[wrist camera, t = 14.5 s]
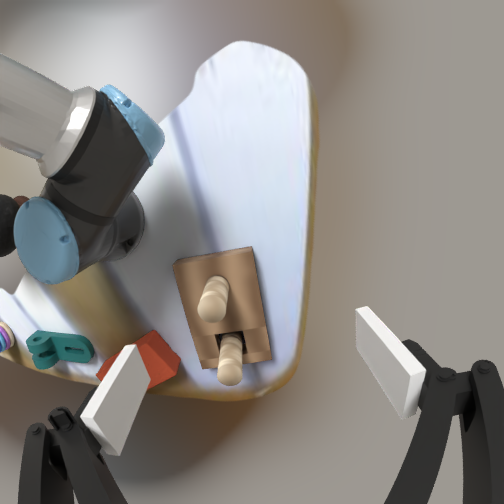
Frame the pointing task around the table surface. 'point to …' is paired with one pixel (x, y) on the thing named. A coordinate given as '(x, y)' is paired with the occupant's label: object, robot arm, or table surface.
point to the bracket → (58, 348)
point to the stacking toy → (5, 337)
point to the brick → (150, 359)
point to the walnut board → (223, 303)
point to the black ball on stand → (8, 222)
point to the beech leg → (230, 359)
